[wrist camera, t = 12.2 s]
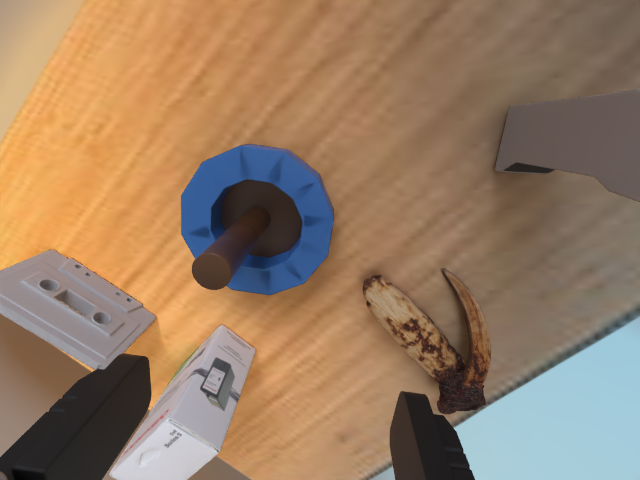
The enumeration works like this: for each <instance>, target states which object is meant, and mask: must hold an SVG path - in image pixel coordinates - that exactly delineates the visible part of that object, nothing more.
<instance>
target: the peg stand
mask: <svg viewBox="0 0 640 480" xmlns="http://www.w3.org/2000/svg"><path fill="white" fill-rule="evenodd" d="M207 160H208V159H207ZM221 223H222V225H223V227H224V228H225V230H226V231H225V232H224V233H223V234H222V235H221V236H220V237H219V238H217V239H216V240H215V241H214V242H213V243H212V244H211V245H210V246H209V247H208V248H207V249H206V250H205V251H203V252H202V253H201V254H200V255H199V256H198V257H197V258H196V259H195V260H194V262H193V265H192V273H193V276H194V278H195V280H196V281H197V282H198V283H199V284H200V285H201V286H203V287H205V288H207V289H211V290H218V289H221V288H224V287H225V286H226V285H228V283H229V282H230V281H231V279H232V278H233V276H234V275H235V273H236V272H237V271H238V269H239V268H240V266H241V265H242V263H243V262H244V260H245V259H246V257H247V256H248V255H255V256H262V257H269V258H271V257H273V256H276V255H279V254H281V253H284V252H287V251H290V250H291V248H292V247H293V246H294V245H295V243H296V242H297V241H298V240H299V238H300V237H301V229H302V219H301V217H300V214H299V212H298V210H297V207H296V205H295V203H294V201H293V199H292V198H291V197H290V196H288V195H287V194H286V193H285V192H283V191H282V190H281V189H279V188H278V187H277V186H275V185H274V184H273V183H269V182H262V181H255V180H248V179H246V180H244V181H242V182H239V183H237V184H234V185H233V186H232V187H231V189H230V190H229V192H228V193H227V195H226V196H225V198H224V199H223V201H222V220H221Z"/></svg>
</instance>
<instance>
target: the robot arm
mask: <svg viewBox="0 0 640 480" xmlns="http://www.w3.org/2000/svg"><path fill="white" fill-rule="evenodd" d="M150 401H151V381H150V368H149V360H148V358H147V357H145V356H138V355H130V354H120V355H118V356H117V357H116V358H115V359H114V360H113V361H112V362H111V363H110V364H109V365H108V366H107V367H106V368H105V369H97V370H95V371H93V372H92V373H90V374H88V375H87V376H85V377H83V378H82V379H80V380H78V381H77V383H75V384H74V385H73V386H72V387H71V388H70V389H69V390H68V391H67V392H66V393H65V394H64V395H63V397H62V399H59V400H58V401H57V402H56V403H55V404H54V405H53V406H52V407H51V408H50V410H49V412H46V413H45V414H44V415H43V416H42V417H41V418H40V419H39V420H38V421H37V422H36V423H35V424H34V425H33V426H32V427H31V428H30V429H29V430H28V431H27V432H25V433H24V435H22V436H21V437H20V438H19V439H18V440H17V441H16V442H15V443H14V445H12V446H11V447H10V448H9V449H8V450H7V451H6V452H5V453H4V454H3V455H2V456H1V457H0V480H102V479H103V477H104V476H105V474H106V473H107V471H108V470H109V468H110V466H111V465H112V464H113V462H114V461H115V459H116V458H117V456H118V455H119V453H120V452H121V450H122V449H123V447H124V446H125V444H126V443H127V441H128V439H129V438H130V437H131V435H132V433H133V432H134V431H135V429H136V428H137V426H138V425H139V423H140V422H141V420H142V419H143V417H144V415H145V414H146V412H147V410H148V407H149V404H150ZM390 450H391V456H392V462H393V468H394V474H395V480H475V479H474V476H473V473H472V471H471V470H470V468H469V463H468V461H467V458H466V455H465V454H464V453H463V448H462V445H461V443H460V440H459V438H458V435H457V432H456V431H455V430H454V428H453V427H452V426H451V425H450V423H449V422H448V421H447V419H446V418H445V417H444V416H443V415H436V414H433V412H432V409H431V406H430V403H429V400H428V397H427V396H426V395H425V394H419V393H411V392H403V391H401V392H400V394H399V397H398V401H397V405H396V408H395V412H394V416H393V420H392V424H391V428H390Z"/></svg>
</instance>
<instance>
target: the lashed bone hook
mask: <svg viewBox="0 0 640 480" xmlns="http://www.w3.org/2000/svg"><path fill="white" fill-rule="evenodd" d="M442 273H443V275H444V276H445V278H446V279H447V281H448V282H449V284H450V286H451V287H452V289H453V290H454V292H455V294H456V296H457V298H458V300H459V303H460V305H461V307H462V310H463V313H464V317H465V322H466V326H467V332H468V339H469V352H468V360H467V363H465V362H464V360H463V358H462V357H461V356H460V355H459V354H458V353H457V352H456V350H455V349H454V348H453V347H452V346H450V345H449V342H448V340H447V339H446V337H445V336H444V335H443V334H442V333H441V332H440V330H439V329H438V328H437V327H436V326H435V325H434V323H433V321H432V320H431V319H430V318H429V317H428V316H427V315H425V314H424V313H423V312H422V311H421V310H419V309H418V308H417V307H416V306H415V305H414V304H413V302H412V301H411V300H410V299H409V298H408V297H407V296H406V295H405V294H403V293H402V292H401V291H400V290H399V289H397V288H396V287H395V286H394V285H393V284H391V283H388V282H387V281H386V280H385V279H384V278H383V277H382V275H374V276H372V277H371V278H368V279H366V280H365V281H364V284H363V294H364V296H365V298H366V300H367V307H368V308H369V309H370V311H371V313H372V314H373V315H374V317H375V318H376V319H377V320H378V321H379V322H380V324H382V325H383V327H384V329H385V330H386V331H387V332H388V333H389V334H390V336H391V337H392V338H393V339H394V340H395V341H397V342H398V344H399V345H400V346H401V347H402V348H403V349H404V350H405V351H406V352H407V354H408V355H409V356H410V357H411V358H413V359H414V360H415V361H416V362H417V363H418V364H419V365H420V366H422V367H423V368H424V369H425V370H426V372H427V373H429V374H430V375H431V376H432V377H433V378H434V379H435V380H436V381H437V382H438V383H439V390H440V397H439V400H438V401H437V407H438V410H439V411H440V413H442V414H452V413H455V412H456V411H470V410H477V409H478V408H480V407H481V406H483V405H486V401H485V398H484V393H483V388H484V385H483V383H484V381H485V378H486V376H487V373H488V369H489V365H490V358H491V349H490V340H489V334H488V329H487V326H486V323H485V319H484V317H483V314H482V311H481V309H480V307H479V305H478V303H477V301H476V300H475V298H474V297H473V295H472V294H471V292H470V291H469V290H468V289H467V287H466V286H465V285H464V284H463V283H462V282H461V281H460V280H459V279H458V278H456V277H455V276H454V275H453V274H452V273H450V272H449V271H447V270H446V269H442Z"/></svg>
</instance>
